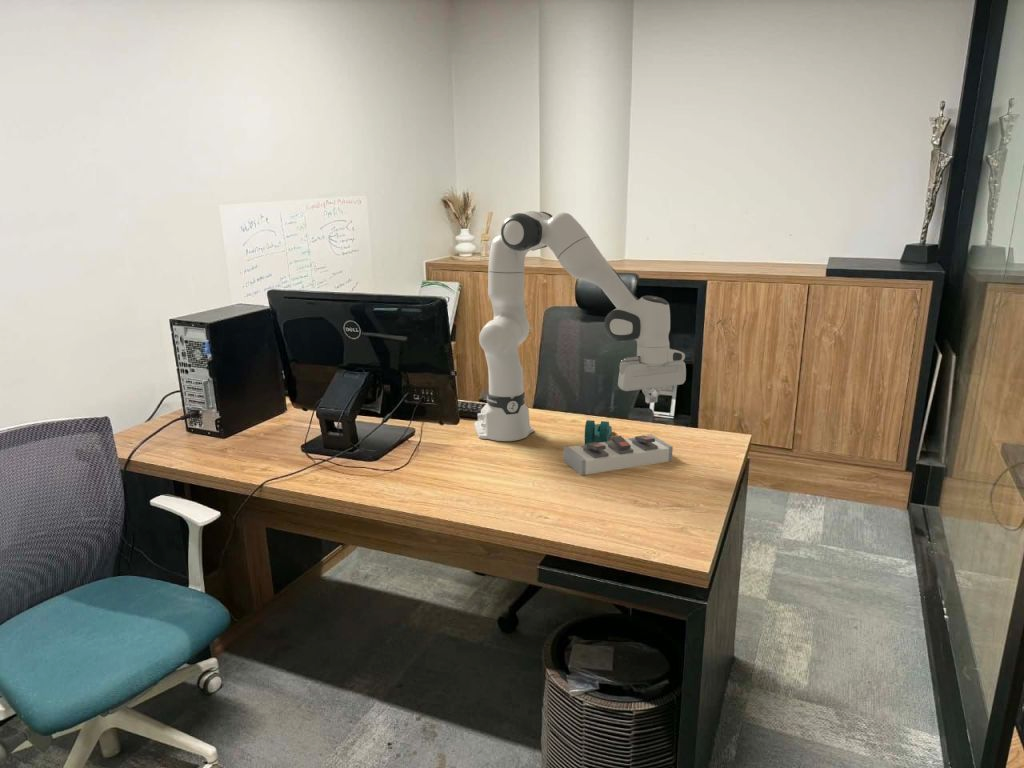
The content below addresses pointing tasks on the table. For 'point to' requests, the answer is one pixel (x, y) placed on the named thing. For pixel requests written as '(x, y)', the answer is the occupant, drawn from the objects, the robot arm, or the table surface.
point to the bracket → (597, 432)
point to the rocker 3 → (645, 439)
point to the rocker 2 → (620, 442)
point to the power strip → (617, 456)
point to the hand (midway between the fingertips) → (651, 402)
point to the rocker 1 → (595, 446)
